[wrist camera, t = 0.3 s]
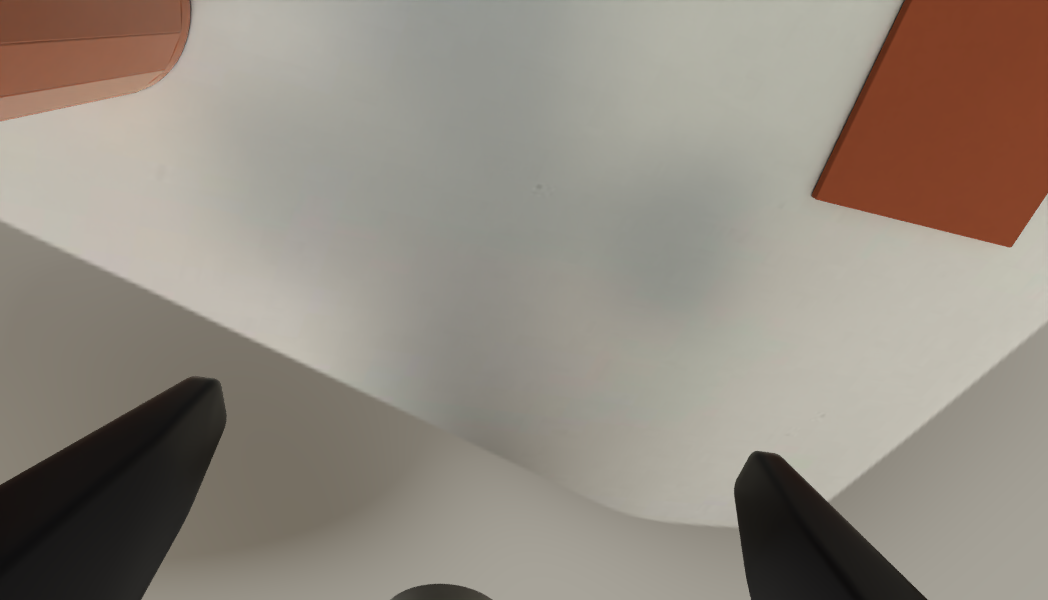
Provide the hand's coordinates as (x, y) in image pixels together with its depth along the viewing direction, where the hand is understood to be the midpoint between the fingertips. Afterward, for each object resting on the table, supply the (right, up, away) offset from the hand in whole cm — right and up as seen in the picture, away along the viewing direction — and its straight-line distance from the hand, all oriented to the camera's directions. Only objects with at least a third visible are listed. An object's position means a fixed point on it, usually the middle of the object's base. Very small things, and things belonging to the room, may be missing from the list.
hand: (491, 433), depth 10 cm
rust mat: (+16, +9, +10) cm, 21 cm away
